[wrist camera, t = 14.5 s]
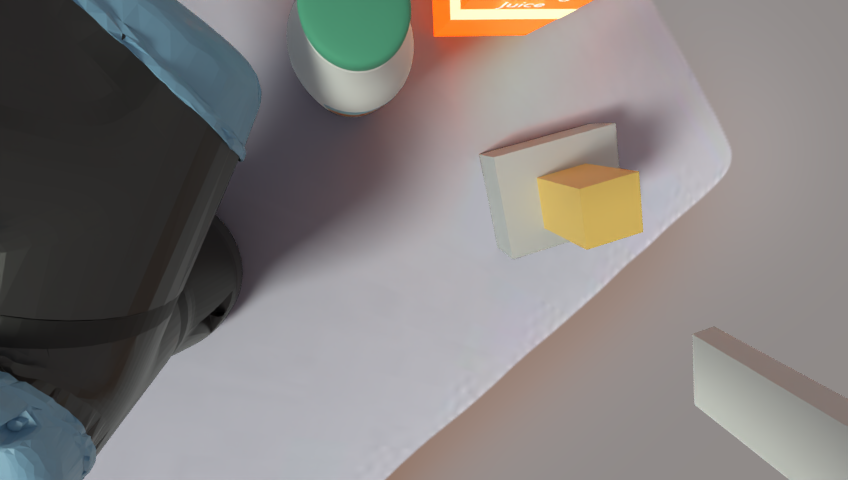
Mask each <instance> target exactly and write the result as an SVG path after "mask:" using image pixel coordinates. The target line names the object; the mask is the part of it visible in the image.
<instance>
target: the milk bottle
mask: <svg viewBox="0 0 848 480" xmlns="http://www.w3.org/2000/svg"><path fill="white" fill-rule="evenodd" d="M410 20H411V2H410V0H295V2H294V4H293V6H292V9H291V11H290V14H289V18H288V23H287V48H288V54H289V58H290V61H291V64H292V67H293V69H294V71H295V73H296V75H297V77H298V78H299V80H300V82H301V83H302V85H303V86H304V88H305V89H306V90H307V91H308V93H309V94H310V95H311V96H312V97H313V98H314V99H315V100H316V101H317V102H318V103H319V104H321V105H322V106H323V107H324V108H326V109H327V110H329V111H331V112H333V113H335V114H337V115H340V116H345V117H360V116H364V115H367V114H370V113H372V112H374V111H376V110H378V109H379V108H381V107H382V106H384V105H385V104H387V103H388V102H389V101H390V100H392V99H393V98H394V97H395V95H396V94H397V93H398V92H399V91H400V89H401V88H402V87H403V85H404V84H405V82H406V80H407V78H408V75H409V73H410V70H411V66H412V61H413V55H414V37H413V31H412V27H411V23H410Z"/></svg>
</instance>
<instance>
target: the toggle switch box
mask: <svg viewBox="0 0 848 480" xmlns="http://www.w3.org/2000/svg"><path fill="white" fill-rule="evenodd" d="M479 156H480V161H481V166H482V171H483V176H484V181H485V186H486V191H487V196H488V201H489V206H490V211H491V216H492V221H493V226H494V232H495V237H496V242H497V247H498V248H499V249H500V250H502V251H503V252H504V253H505V254H507V255H508V256H509V257H510V258H512V259H516V258H519V257H522V256H525V255H529V254H532V253H535V252H538V251H541V250H544V249H548V248H551V247H554V246H557V245H560V244H564V243H567V242H570V241H569V240H567V239H565V238H563V237H561V236H559V235H557V234H555V233H553V232H551V231H549V230H547V229H545V228H544V222H543V216H542V209H541V203H540V197H539V190H538V184H537V177H541V176H544V175H548V174H551V173H555V172H558V171H562V170H565V169H568V168H572V167H575V166H579V165H582V164H586V163H587V164H593V165H600V166H606V167H613V168H619V158H618V147H617V135H616V123H598V124H587V125H583V126H580V127H576V128H572V129H569V130H565V131H562V132H558V133H554V134H551V135H547V136H544V137H540V138H537V139H533V140H529V141H526V142H522V143H519V144H515V145H511V146H508V147H504V148H501V149H497V150H493V151H490V152H486V153H483V154H479Z"/></svg>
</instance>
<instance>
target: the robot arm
mask: <svg viewBox="0 0 848 480" xmlns="http://www.w3.org/2000/svg"><path fill="white" fill-rule="evenodd" d="M260 103H261V88H260V84H259V81H258V77H257V75H256V73H255V72H254V70H253V69H252V67H251V65H250V64H249V62H248V61H247V60H246V59H245V58H244V57H243V56H242V55H241V54H240V53H239V51H238V50H236V49H235V48H234V47H233V46H232V45H231V44H230V43H229V42H228V41H227V40H225V39H224V38H223V37H222V36H221V35H219V34H218V33H217V32H216V31H215V30H214V29H212V28H211V27H210V26H209V25H207V24H206V23H205V22H204V21H203V20H201V19H200V18H199V17H198V16H196V15H195V14H194V13H192V12H191V11H190V10H189V9H187V8H186V7H185V6H183V5H182V4H181V3H180V2H178V1H177V0H0V480H83V479H84V477H85V476H86V475H87V474H88V473H89V472H90V470H91V469H92V467H93V465H94V463H95V461H96V456H97V455H98V453H99V452H100V451H101V449H102V448H103V447H104V445H105V444H106V443H107V441H108V440H109V439H110V437H111V436H112V435H113V433H114V432H115V431H116V429H117V428H118V427H119V425H120V424H121V423H122V421H123V420H124V419H125V417H126V416H127V415H128V413H129V412H130V411H131V409H132V408H133V407H134V405H135V404H136V403H137V401H138V400H139V399H140V397H141V396H142V395H143V393H144V392H145V391H146V389H147V388H148V387H149V385H150V384H151V383H152V381H153V380H154V379H155V377H156V376H157V375H158V373H159V372H160V371H161V369H162V368H163V367H164V365H165V364H166V363H167V361H168V360H169V359H170V357H171V356H173V355H175V354H177V353H179V352H181V351H183V350H185V349H186V348H188V347H190V346H192V345H194V344H196V343H198V342H200V341H201V340H203V339H204V338H206V337H207V336H208V335H210V334H211V333H212V332H213V331H214V330H215V329H216V328H217V327H218V326H219V325H220V324H221V323H222V322H223V320H224V319H225V318H226V316H227V315H228V313H229V312H230V310H231V308H232V307H233V305H234V303H235V302H236V300H237V297H238V295H239V292H240V288H241V283H242V262H241V257H240V253H239V250H238V247H237V245H236V243H235V240H234V238H233V237H232V235H231V233H230V232H229V230H228V229H227V228H226V226H225V225H224V224H223V223H222V221H221V220H220V219H219V218H218V217H217V216H216V215H215V213H216V211H217V209H218V206H219V204H220V202H221V199H222V197H223V195H224V192H225V190H226V188H227V185H228V183H229V181H230V178H231V176H232V174H233V171H234V169H235V167H236V164H237V162H238V161H240V162H242V161H244V159H245V156H246V150H245V148H244V147H245V144H246V141H247V139H248V136H249V133H250V131H251V128H252V125H253V123H254V120H255V117H256V115H257V112H258V109H259V107H260ZM692 340H693V341H692V342H693V374H694V404H695V405H696V406H697V407H698V408H700V409H701V410H702V411H703V412H705V413H706V414H707V415H708V416H710V417H711V418H712V419H713V420H715V421H716V422H717V423H718V424H720V425H721V426H722V427H724V428H725V429H726V430H727V431H729V432H730V433H731V434H732V435H734V436H735V437H736V438H738V439H739V440H740V441H741V442H742V443H744V444H745V445H746V446H747V447H749V448H750V449H751V450H753V451H754V452H755V453H756V454H758V455H759V456H760V457H761V458H763V459H764V460H765V461H766V462H768V463H769V464H770V465H771V466H773V467H774V468H775V469H777V470H778V471H779V472H780V473H782V474H783V475H784V476H785V477H787V478H788V479H789V480H848V399H847V398H845V397H843V396H842V395H840V394H838V393H836V392H834V391H832V390H830V389H829V388H827V387H825V386H823V385H821V384H819V383H817V382H816V381H814V380H812V379H810V378H808V377H806V376H805V375H803V374H801V373H799V372H797V371H795V370H793V369H792V368H790V367H788V366H786V365H784V364H782V363H780V362H778V361H777V360H775V359H773V358H771V357H769V356H768V355H766V354H764V353H762V352H760V351H758V350H756V349H755V348H753V347H751V346H749V345H747V344H745V343H743V342H742V341H740V340H738V339H736V338H734V337H732V336H731V335H729V334H727V333H725V332H723V331H721V330H719V329H718V328H716V327H711V328H708V329H706V330H703V331H700V332H697V333H694V334H692Z"/></svg>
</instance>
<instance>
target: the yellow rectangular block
mask: <svg viewBox="0 0 848 480" xmlns="http://www.w3.org/2000/svg"><path fill="white" fill-rule="evenodd" d="M537 184H538V190H539V197H540V203H541V209H542V216H543V222H544V228H545V229H547V230H549V231H551V232H553V233H555V234H557V235H559V236H561V237H563V238H565V239H567V240H569V241H571V242H572V243H574V244H576V245H578V246H580V247H582V248H584V249H586V250H588V249H591V248H594V247H597V246H600V245H603V244H607V243H610V242H613V241H616V240H619V239H622V238H625V237H629V236H632V235H635V234H638V233H641V232H643V223H642V209H641V194H640V180H639V171H633V170H626V169H620V168H613V167H606V166H600V165H593V164H587V163H586V164H582V165H579V166H575V167H572V168H568V169H565V170H562V171H558V172H555V173H551V174H548V175H544V176H541V177H537Z"/></svg>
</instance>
